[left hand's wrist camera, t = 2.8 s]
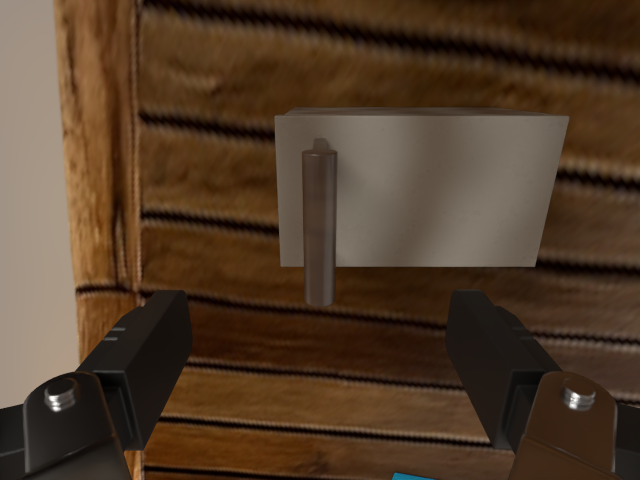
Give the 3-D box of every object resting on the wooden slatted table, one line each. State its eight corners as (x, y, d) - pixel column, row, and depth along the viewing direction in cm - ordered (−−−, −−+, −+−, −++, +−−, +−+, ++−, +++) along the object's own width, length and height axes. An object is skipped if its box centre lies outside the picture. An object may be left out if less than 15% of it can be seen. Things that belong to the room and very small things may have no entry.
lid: (282, 260, 27) (267, 325, 19) (276, 114, 23) (255, 127, 16) (526, 260, 27) (605, 326, 19) (558, 114, 23) (671, 127, 16)
